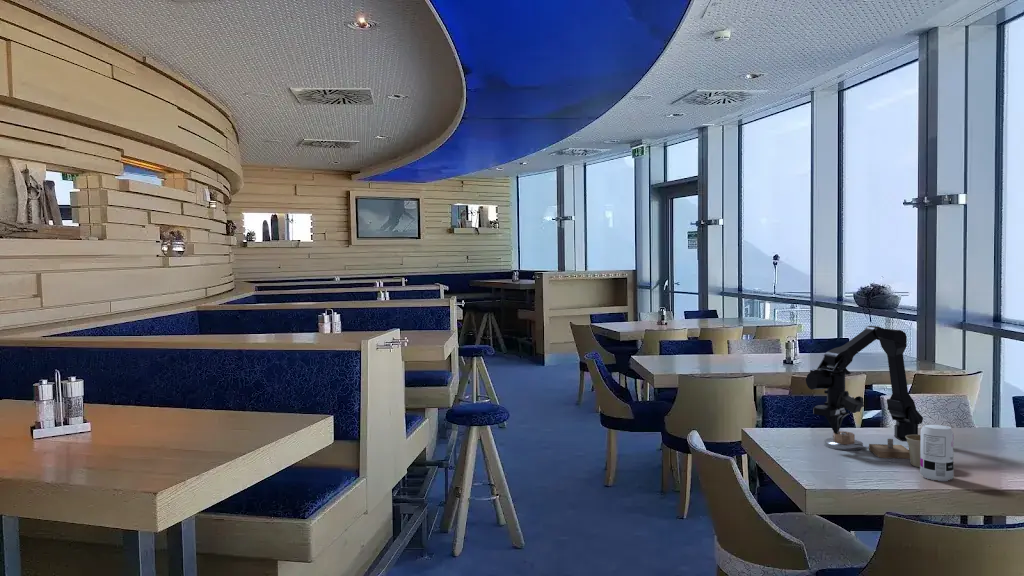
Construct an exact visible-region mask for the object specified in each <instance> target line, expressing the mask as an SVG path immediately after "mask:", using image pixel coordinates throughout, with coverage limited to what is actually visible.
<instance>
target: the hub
mask: <svg viewBox="0 0 1024 576" xmlns="http://www.w3.org/2000/svg"><path fill="white" fill-rule="evenodd" d="M841 434H846V433H841ZM823 442H824V446H825V447H826V448H828V449H832V450H838V451H849V452H851V451H853V452H855V451H856V450H857V451H861V450H864V443H863V442H862V441H859V440H858V439H855V443H854V444H840V443H835V442H834V441H833V437H829V438H824V441H823Z"/></svg>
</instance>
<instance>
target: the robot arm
mask: <svg viewBox="0 0 1024 576" xmlns="http://www.w3.org/2000/svg"><path fill="white" fill-rule="evenodd" d="M907 339H908V337H907V334H906V332H905V331H903V330H901V329H893V328H883V327H881V326H876V325H868V326H866V327H865V328H864V329H863V330H861V332H859V333H858V334H857V335H856V336H854V337H853V338H852V339H851V338H850V340H848V341H847V342H846V343H845V344H843V345H841V346H837V347H834V348H831V349H830V350H827V351H826V352H824V355H823V358H822V360H821V362H820V364H819V365H818V366H817V367H816V369H815V368H814V369H813V368H812V369H810V370H809V373H807V375H806V377H805V384H806V386H807V388H808V389H810V390H811V391H812V390H824V393H823V394H825V395H826V401H824V402H823V403H824V404H820V405H819V404H818V405H815V406H814V407H813V408H812V410H813V411H812V412H813V413H812V414H813V415H819V416H823V417H825V418H826V419H827V422H828V423H829V425H830V427H831V430H832V431H833V432H834V433H838V432H839V431H840V428H841V426H842V423H843V421H844V418H846V417H847V416H848V415H850V413H853V414H856V413H860V412H861V411H862V408H864V407H865V403H864V402H865V401H864V397H862V396H859V395H858V396H856V397H852V396H850V393H849V391H848V390H846V376H847V375H849V376H850V375H851V372H850V371H849V370H848V369H847V367H848V366H849V365H850V364H851V363H852V362H853V360H854V357H855V356H856V355H857V354H859V353H860V352H861V351H862V350H864V349H865V348H867V347H868V346H869V345H870V344H873V342H874V341H876V340H877V341H879V343H880V346H881V348H882V350H883V351H884V352H885V354H886V356H887V363H888V371H889V372H888V373H889V379H890V385H891V394H890V398H887V399H886V404H887V410H888V413H889V414H890V416H891V420H893V421H895V424H894V434H893V436H894V438H896V439H898V440H900V441H907V439H906V438H905V436H907V435H919V425H920V424H923V420H924V417H923V416H922V415H921V413H920V412H919V411H918V410H917V408H916V403H915V401H914V399H913V398H912V397H911V395H910V393H909V390H908V384H907V383H908V381H907V375H906V366H905V360H904V352H905V351H906V348H907V345H908V343H907V342H908V341H907ZM846 410H848V412H847V411H846Z"/></svg>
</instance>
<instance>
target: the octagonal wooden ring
mask: <svg viewBox="0 0 1024 576" xmlns="http://www.w3.org/2000/svg"><path fill="white" fill-rule="evenodd" d="M841 433H846V434H841ZM832 434H833V437H832V438H833V441H834V442H835V443H840V444H854V443H855V440H856V439H855V433H853V432H850V431H844V430H839V432H838V433H834V432H833V433H832Z"/></svg>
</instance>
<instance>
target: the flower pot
mask: <svg viewBox="0 0 1024 576" xmlns="http://www.w3.org/2000/svg"><path fill="white" fill-rule="evenodd" d="M905 438H906V439H907V440H906V442H907V445H908V450H909V453H910V465H911V466H913V467H916V468H920V442H921V434H918V435H907V436H905Z"/></svg>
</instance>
